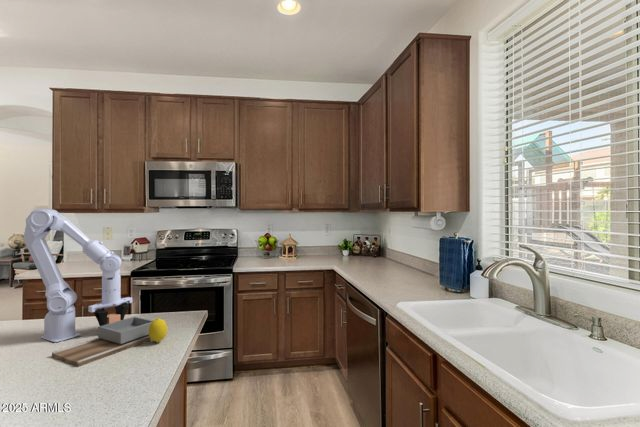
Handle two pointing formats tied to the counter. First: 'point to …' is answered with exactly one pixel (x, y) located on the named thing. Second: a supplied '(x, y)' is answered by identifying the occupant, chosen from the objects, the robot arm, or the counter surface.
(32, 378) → the counter surface
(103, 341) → the track
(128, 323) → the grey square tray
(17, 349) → the counter surface
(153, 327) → the lemon
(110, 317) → the block
